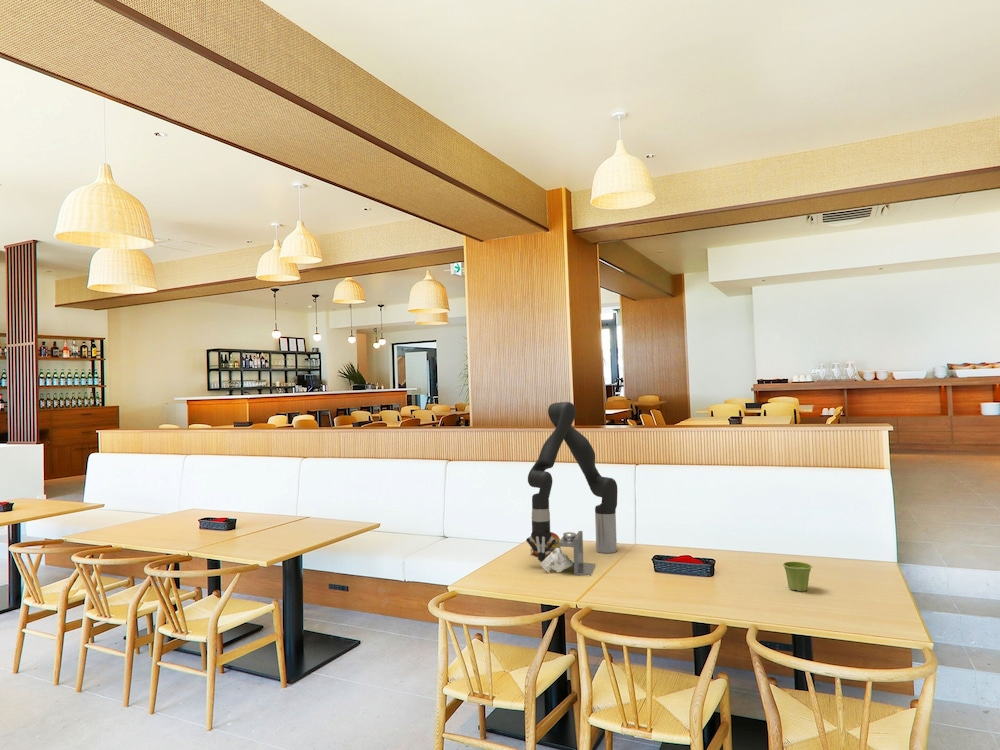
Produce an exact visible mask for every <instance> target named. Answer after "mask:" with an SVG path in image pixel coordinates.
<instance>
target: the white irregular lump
mask: <svg viewBox="0 0 1000 750" xmlns="http://www.w3.org/2000/svg"><path fill="white" fill-rule="evenodd" d="M539 566H540V567H541V568H543V569H544V570H545V571H546V572H547V573H548V574H550V573H551V572H550V571H552V570H554V571H555V572H556V573H558V572H560V573H561V572H563V571H564V570H567V569H568V568H570V567H573V566H574V561H572V560H571V559H570V558H569V556H568V555H566V554H565V553H563V550H562V549H561V547H560V548H556V549H555V550H554V552H551V553H550V554H549V555H548V556H546V558H545V559H544V560H543V561H542V562H540V564H539Z"/></svg>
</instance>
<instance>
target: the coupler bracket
mask: <svg viewBox="0 0 1000 750" xmlns="http://www.w3.org/2000/svg"><path fill="white" fill-rule="evenodd" d="M583 537H584V536H583V530H578V532H570V531H569V532H568V531H567V532H563V536H562V537H561V538H560V541H559V547H560V548H563V547H564V548H573V563H574V565H573V568H574V569H573V575H574V576H580V575H590V576H589V577H592V575H591V574H593V572H594V570H593V569H595V567H596V563H593V562H584V542H583V540H584V539H583Z"/></svg>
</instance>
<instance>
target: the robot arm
mask: <svg viewBox="0 0 1000 750" xmlns="http://www.w3.org/2000/svg"><path fill="white" fill-rule="evenodd" d="M547 414H548V417H549V420H550V422H551V423H552V425H553V426H554V427H555V429H554V430H553V432H552V433H551V434H550V436H549V437H547V439H546V440H545V442H544V443H543V445H542V446H541V450H540V453H539V455H538V458H537V460H536V461H535V463H534V465H533V466H532V467H531V469H530V470H529V473H528V475H527V483H528V485H529V486H530V487H532V488H537V489H539V491H538V493H534V494H533V495H532V496H531V507H532V508H531V533H530V536H529V537H527V538H526V540H525V541H526V542H527V544H528V545H529V546H530V549H531V548H532V549H533V550H534V551H537V552H538V555H537V558H538V559H537V560H538V561H539V562H540V563H542V561H543V560H544V559H545V558H546V557H547V556H545V552H547V551H549V550H550V548H551V547H552V546H553V544H554V543H555V542H556V540H557V539H556V538H553V537H552V535H551V532H552V531H551V514H550V495H551V491H552V488H553V487H552V486H553V477H552V474H551V473H550V472H549V471H547V470H549V469H552V468H553V467H554V465H555V462H556V459H557V456H558V454H559V450H560V448H561V446H562V443H563V441H564V442H565V444H566V445H567V448H568V449H569V451H570V453H571V454H572V456H573V458H574V459H575V461H576V462H577V464H578V466H579V468H580V470H581V471H582V473H583V475H584V478H585V480H586V482H587V485H588V487H589V489H590V491H591V493H592V494H593V495H594V496H596V497H598V498H601V503H600V504H597V505H596V506H595V507H594V515H595V516H594V517H595V546H596V547H595V551H596V552H598V553H601V554H614V553H616V552H617V549H618V547H617V516H616V515H617V513H616V511H617V507H618V483H617V482H616V480H615V479H614V478H613V477H608V476H607V477H605V476H602V475H601V474H600V473H599V470H598V469H597V467H596V454H595V453H596V452H595V450H594V448H593V447H592V445H591V442H590V441H589V440H588V438H586V437H585V436H584V435H583V434H582V433H581V432H580V431H578V430H577V429H575V427H574V426H573V423H574V421H575V418H576V415H577V408H576V407H575V405H574V403H572V402H570V401H563V402H560V401H559V402H554V403H553V402H552V403H551V404H550V405H549V406H548V409H547ZM532 538H533V539H532ZM549 539H551V540H550V542H551V543H550V545H549V546H548V547H547V548H546V543H547V542H548V541H549ZM533 540H534V541H535V543H537V547H536V545H535V544H534V543H533ZM541 544H542V549H541Z"/></svg>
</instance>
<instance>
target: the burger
mask: <svg viewBox="0 0 1000 750" xmlns="http://www.w3.org/2000/svg"><path fill="white" fill-rule="evenodd" d="M550 532H551V535H552V537H553V538H556V539H557V540H556V542H555V543H554V544H553V546H552V547H551V548H550V550H549V551H547V552H545V556H546V557H547V556H548V555H549V554H550V553H551V552H554V550H555V549H556V548H560V549H561V547H559V541H560V540H561V538H560V536H559V535H558V534H557V533H554V532H553V531H550ZM532 539H533V538H532ZM550 540H551V539H549V541H548V542H547V543H546V548H547V547H548V546H549V545H550V543H551V542H550ZM533 543H534V544H535V545H536V547H537V543H535V541H534V540H533ZM541 549H542V544H541ZM531 553H532V554H533V555H536V556H538V552H537V551H534V550H533V549H532V548H531V547H530V554H531Z"/></svg>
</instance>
